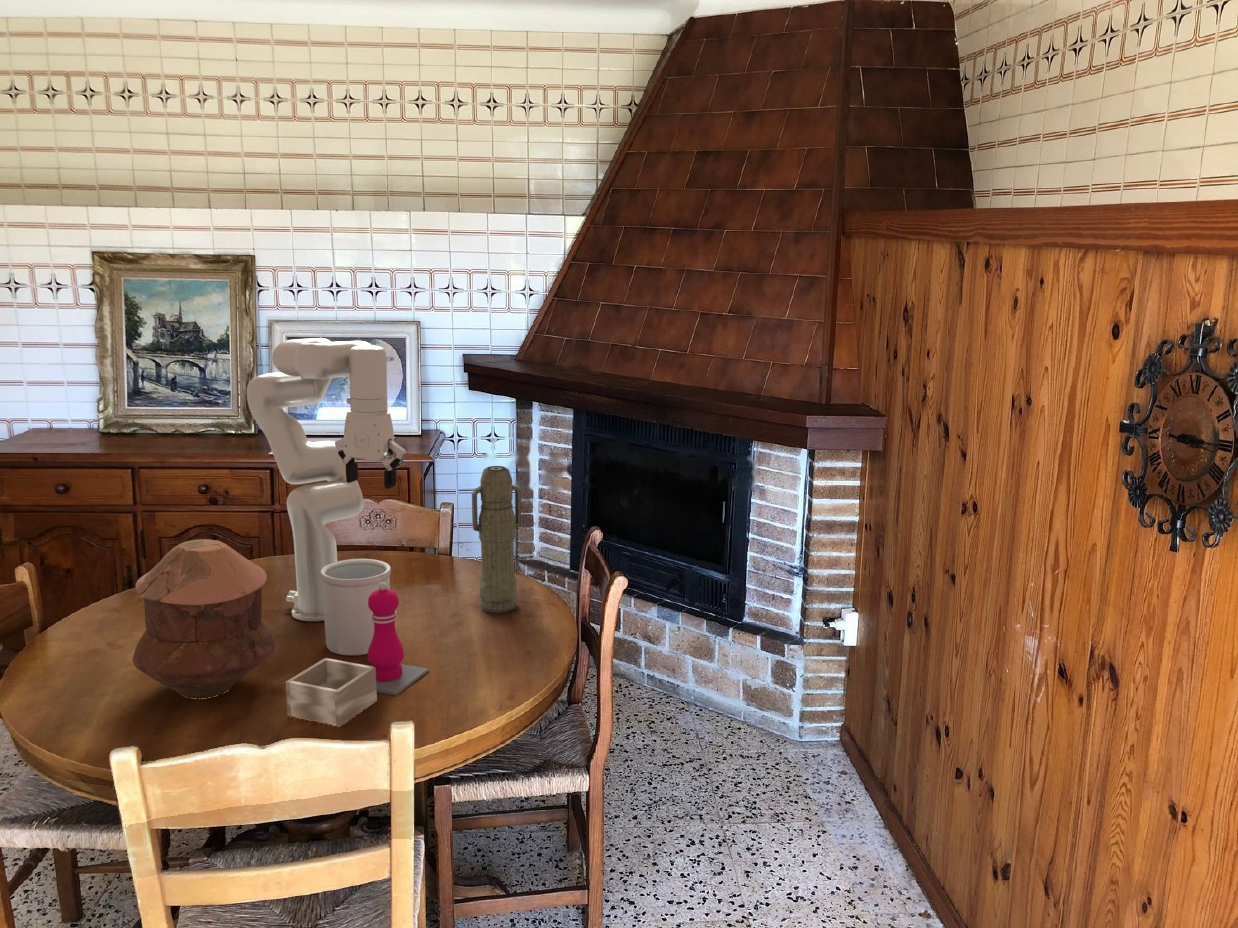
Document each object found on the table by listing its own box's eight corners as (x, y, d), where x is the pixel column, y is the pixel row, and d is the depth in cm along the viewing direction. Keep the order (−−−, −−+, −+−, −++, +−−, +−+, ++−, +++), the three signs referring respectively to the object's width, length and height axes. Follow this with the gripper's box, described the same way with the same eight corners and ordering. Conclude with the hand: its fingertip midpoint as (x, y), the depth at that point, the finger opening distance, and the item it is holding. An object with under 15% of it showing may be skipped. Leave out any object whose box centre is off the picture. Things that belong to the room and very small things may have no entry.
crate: (287, 716, 177) (285, 681, 175) (327, 690, 187) (325, 657, 186) (339, 727, 173) (337, 692, 171) (377, 700, 183) (375, 666, 182)
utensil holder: (371, 625, 221) (368, 553, 217) (406, 644, 210) (403, 569, 207) (312, 642, 211) (307, 567, 207) (346, 663, 200) (341, 584, 196)
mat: (344, 685, 190) (344, 682, 189) (379, 662, 201) (379, 659, 200) (396, 695, 186) (395, 692, 185) (428, 671, 197) (428, 668, 196)
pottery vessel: (133, 676, 193) (118, 535, 186) (265, 652, 205) (256, 519, 198) (141, 731, 170) (124, 573, 164) (288, 701, 183) (278, 552, 176)
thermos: (528, 607, 233) (526, 469, 225) (483, 616, 227) (480, 474, 219) (513, 596, 240) (511, 462, 233) (469, 604, 234) (466, 466, 227)
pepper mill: (411, 670, 195) (408, 578, 191) (392, 685, 189) (388, 590, 184) (381, 665, 198) (377, 574, 193) (361, 679, 191) (356, 585, 187)
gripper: (323, 404, 197) (326, 483, 201) (393, 412, 191) (395, 493, 195) (346, 398, 204) (348, 475, 208) (414, 406, 198) (415, 485, 202)
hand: (371, 484), depth 202 cm, fingers open, 9 cm apart
